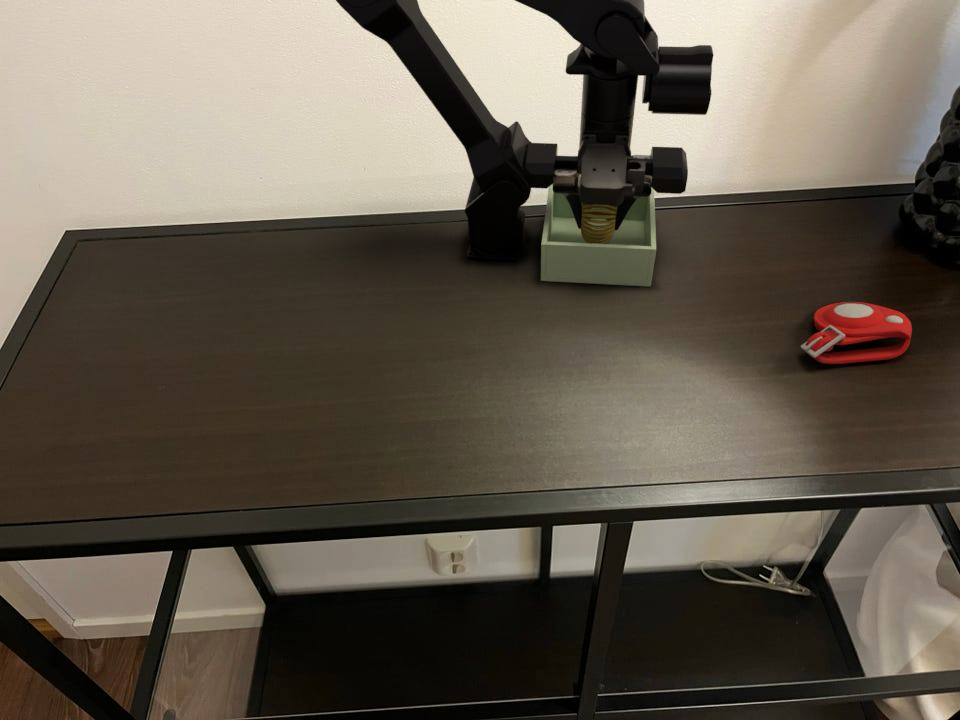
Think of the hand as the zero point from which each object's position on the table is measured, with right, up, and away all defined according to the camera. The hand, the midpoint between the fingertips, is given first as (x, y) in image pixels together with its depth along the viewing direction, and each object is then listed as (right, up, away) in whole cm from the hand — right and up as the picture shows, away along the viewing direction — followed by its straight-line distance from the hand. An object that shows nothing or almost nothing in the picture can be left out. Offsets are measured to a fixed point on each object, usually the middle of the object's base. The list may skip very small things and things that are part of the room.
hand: (597, 227), depth 92 cm
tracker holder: (+25, -14, -10) cm, 31 cm away
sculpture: (0, -2, +2) cm, 2 cm away
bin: (0, -2, +2) cm, 4 cm away
